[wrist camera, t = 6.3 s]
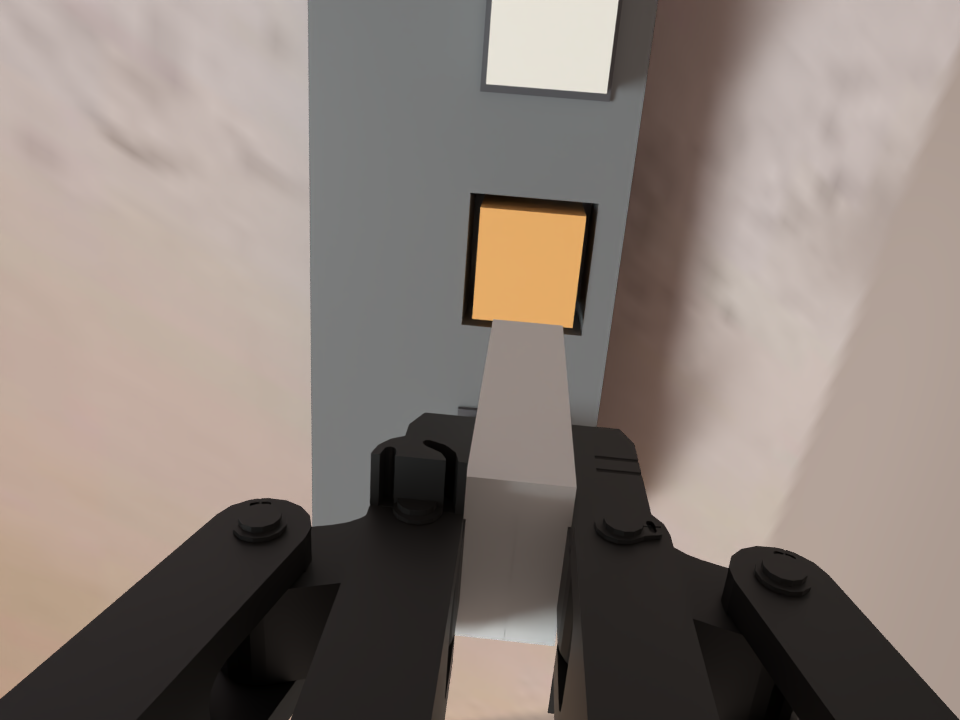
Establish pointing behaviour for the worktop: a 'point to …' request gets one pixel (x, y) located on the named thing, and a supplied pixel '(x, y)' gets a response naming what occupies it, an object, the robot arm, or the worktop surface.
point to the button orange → (528, 259)
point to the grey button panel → (452, 199)
